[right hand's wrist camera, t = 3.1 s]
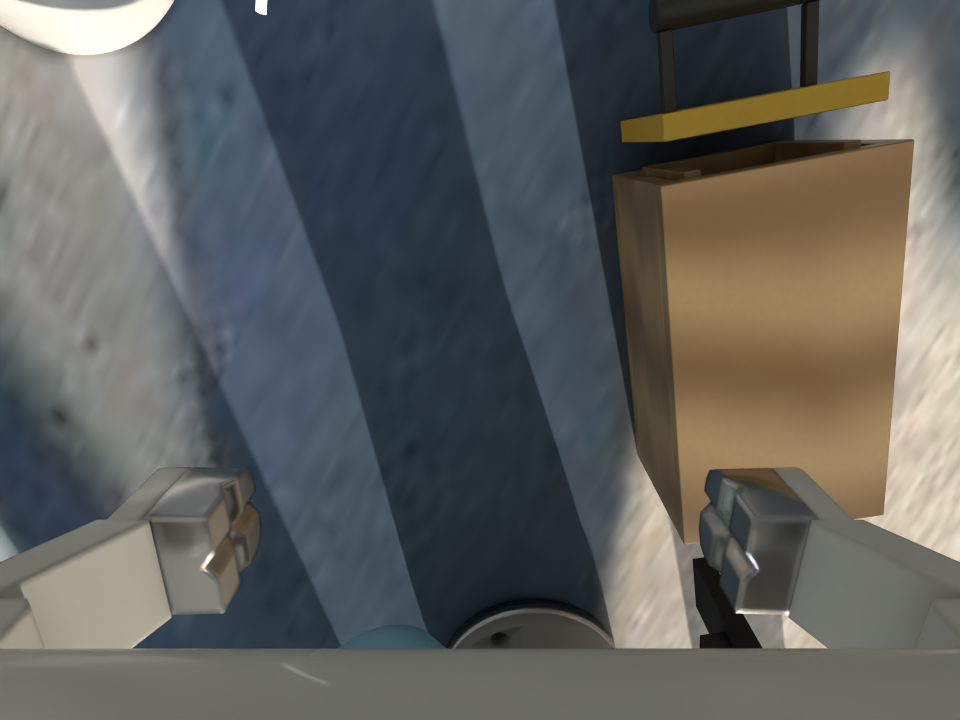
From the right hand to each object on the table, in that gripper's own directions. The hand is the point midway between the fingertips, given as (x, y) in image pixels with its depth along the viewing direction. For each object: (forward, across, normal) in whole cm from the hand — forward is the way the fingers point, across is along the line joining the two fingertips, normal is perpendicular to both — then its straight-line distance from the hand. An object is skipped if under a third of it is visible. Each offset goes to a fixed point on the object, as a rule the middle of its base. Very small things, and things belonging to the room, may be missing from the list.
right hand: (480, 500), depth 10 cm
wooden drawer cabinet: (+29, +16, -5) cm, 33 cm away
